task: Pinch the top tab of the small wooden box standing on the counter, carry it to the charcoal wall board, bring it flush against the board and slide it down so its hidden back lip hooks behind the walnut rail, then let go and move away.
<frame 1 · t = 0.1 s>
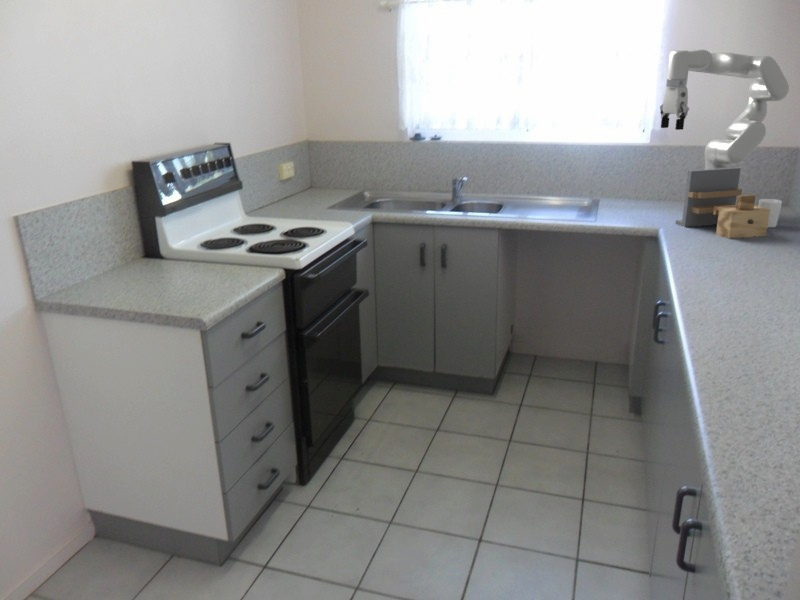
hand: (671, 128, 265), 37 cm above the worktop, tool pointing down, fingers open, 9 cm apart
wooden box: (740, 235, 247), on the worktop
white cup: (766, 226, 260), on the worktop
wall board: (707, 224, 265), on the worktop
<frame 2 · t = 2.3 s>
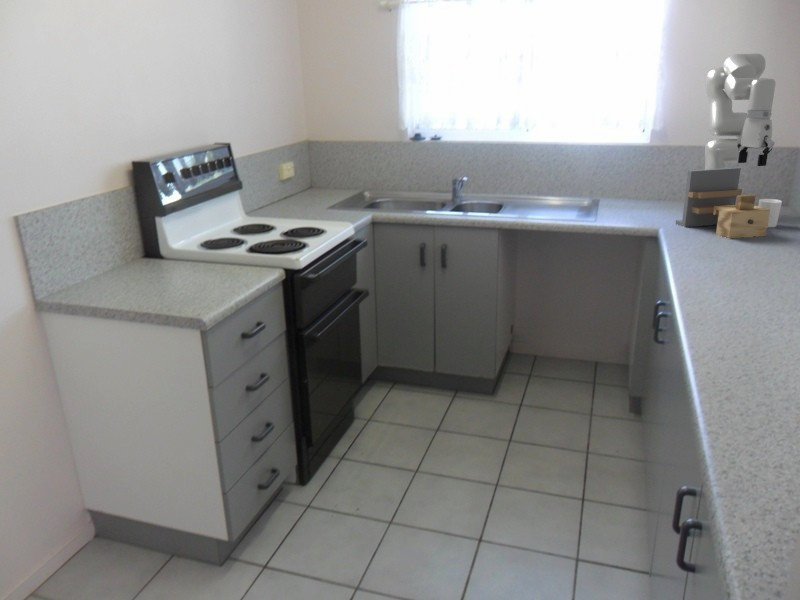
hand: (751, 164, 238), 26 cm above the worktop, tool pointing down, fingers open, 9 cm apart
nothing on the worktop moved.
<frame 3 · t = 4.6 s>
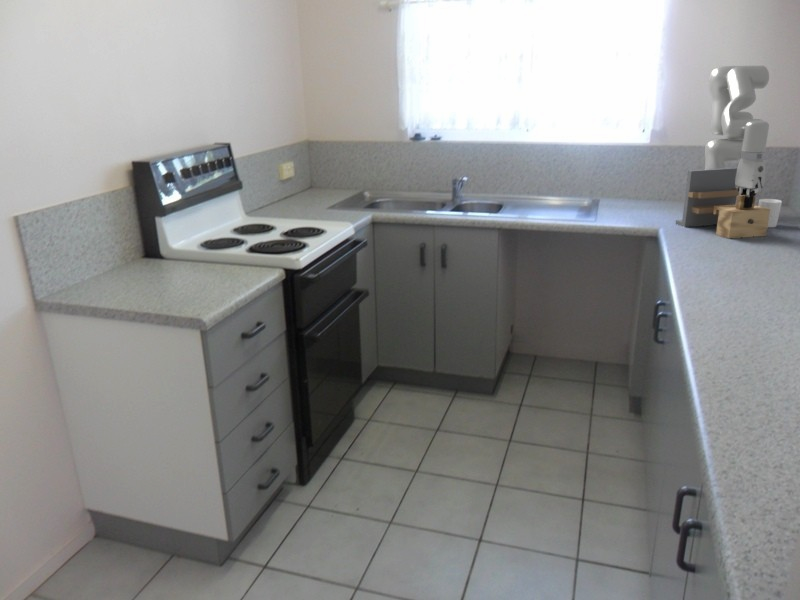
hand: (745, 206, 243), 11 cm above the worktop, tool pointing down, fingers closed on wooden box
wooden box: (740, 235, 247), on the worktop, touching gripper
everything else where it was.
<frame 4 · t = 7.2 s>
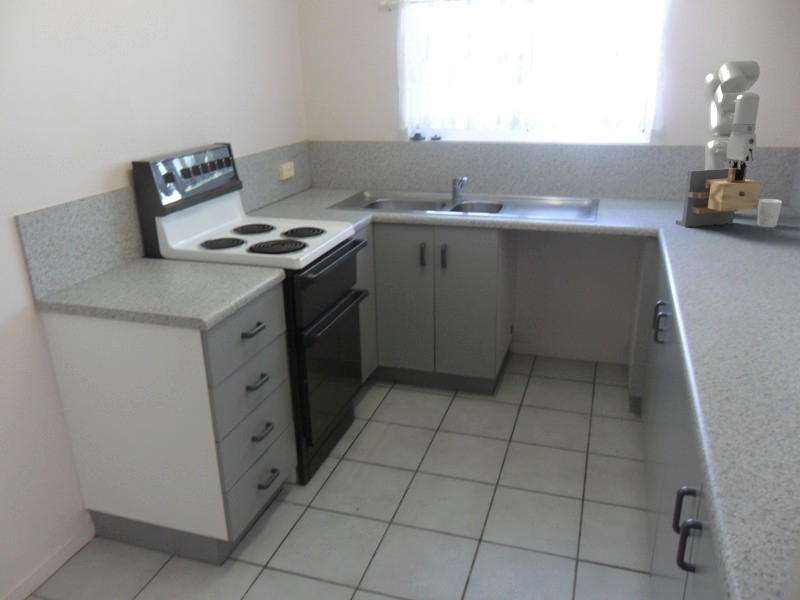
hand: (736, 179, 246), 20 cm above the worktop, tool pointing down, fingers closed on wooden box
wooden box: (732, 208, 250), point 9 cm above the worktop, touching gripper
everything else where it was.
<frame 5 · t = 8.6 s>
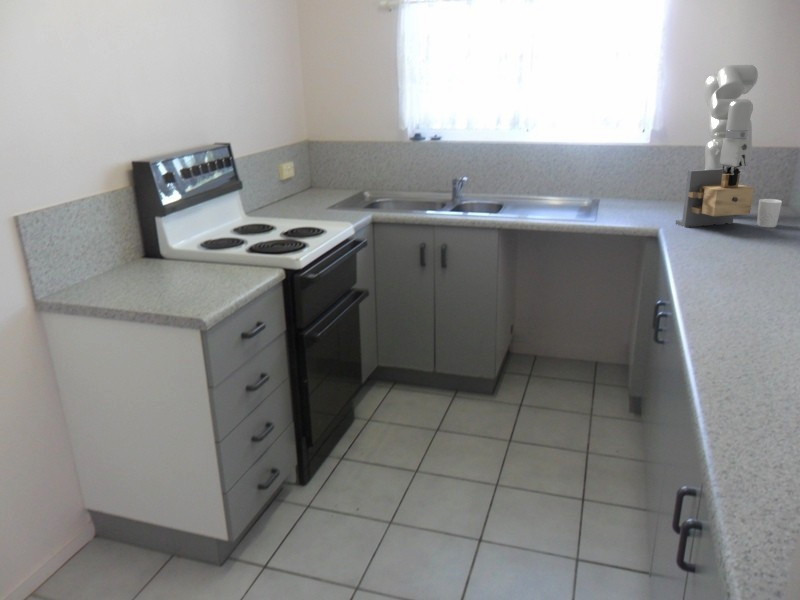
hand: (729, 184, 250), 17 cm above the worktop, tool pointing down, fingers closed on wooden box
wooden box: (725, 213, 254), point 6 cm above the worktop, touching gripper
everything else where it was.
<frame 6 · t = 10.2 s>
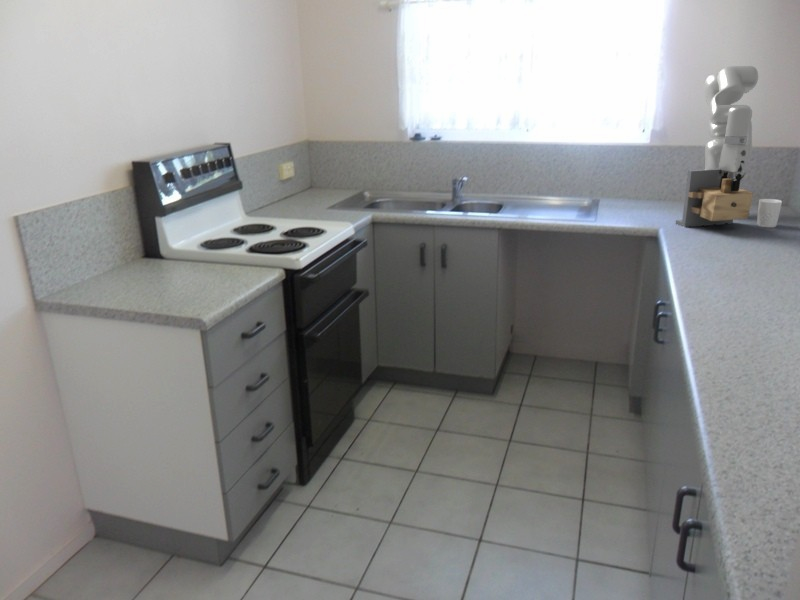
hand: (728, 189, 251), 16 cm above the worktop, tool pointing down, fingers open, 5 cm apart
wooden box: (723, 217, 255), point 5 cm above the worktop, touching wall board
everything else where it was.
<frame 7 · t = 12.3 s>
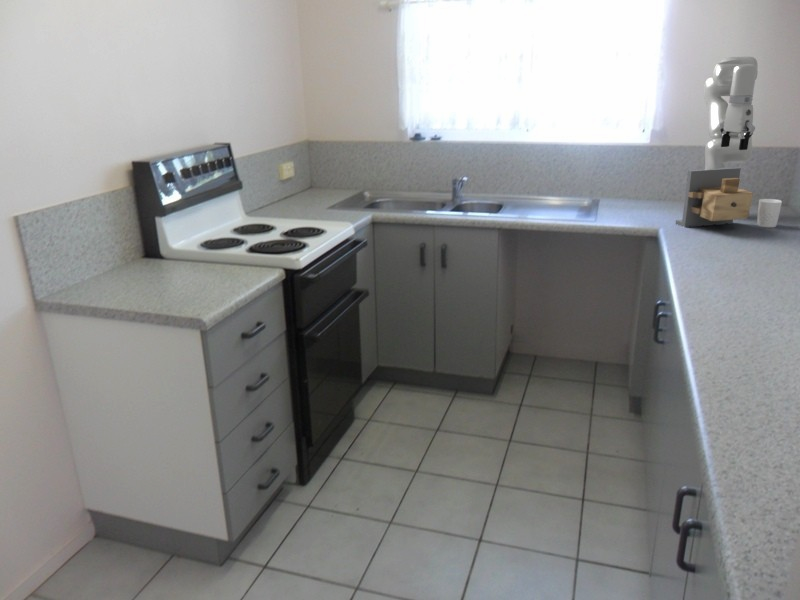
hand: (733, 148, 247), 31 cm above the worktop, tool pointing down, fingers open, 9 cm apart
nothing on the worktop moved.
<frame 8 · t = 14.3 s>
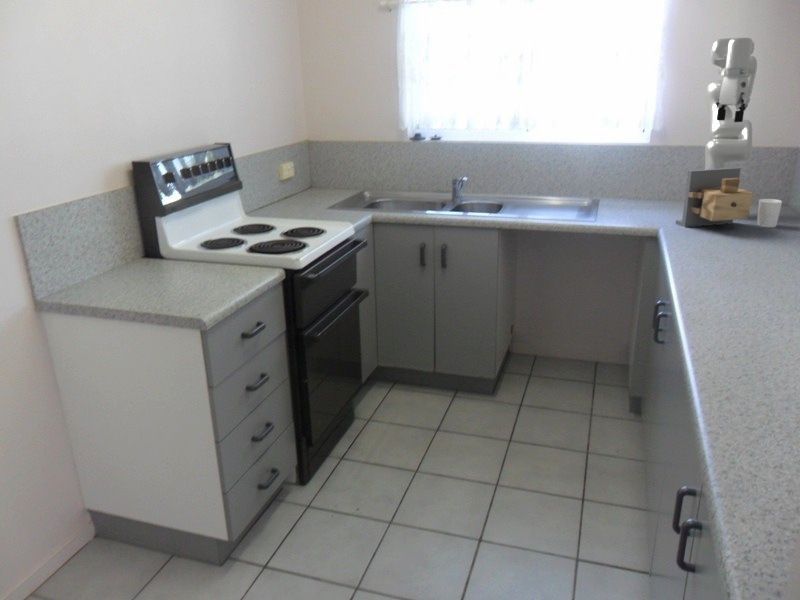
hand: (729, 121, 250), 40 cm above the worktop, tool pointing down, fingers open, 9 cm apart
nothing on the worktop moved.
at the end: wooden box 0.7 cm from the target spot on the wall board, point 4.7 cm above the wall board's base; the gripper is holding nothing; wooden box tilted 4° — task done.
